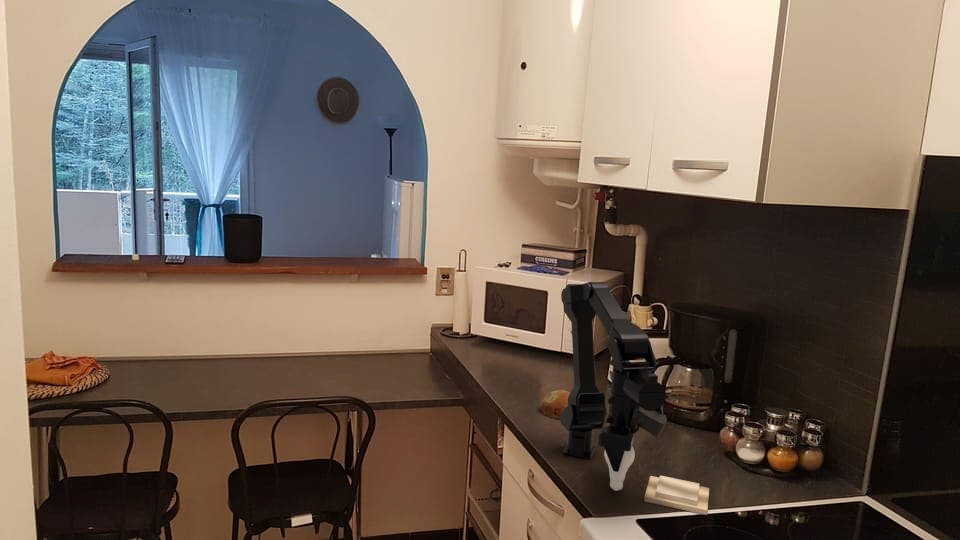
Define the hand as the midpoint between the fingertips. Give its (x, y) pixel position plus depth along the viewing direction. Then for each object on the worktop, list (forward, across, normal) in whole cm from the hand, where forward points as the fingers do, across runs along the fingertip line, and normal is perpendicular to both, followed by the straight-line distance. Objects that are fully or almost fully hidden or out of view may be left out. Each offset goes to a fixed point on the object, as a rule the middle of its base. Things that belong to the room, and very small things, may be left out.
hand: (618, 465), depth 138 cm
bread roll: (+6, +37, +21) cm, 43 cm away
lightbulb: (+6, 0, 0) cm, 6 cm away
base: (+6, +3, -12) cm, 14 cm away
